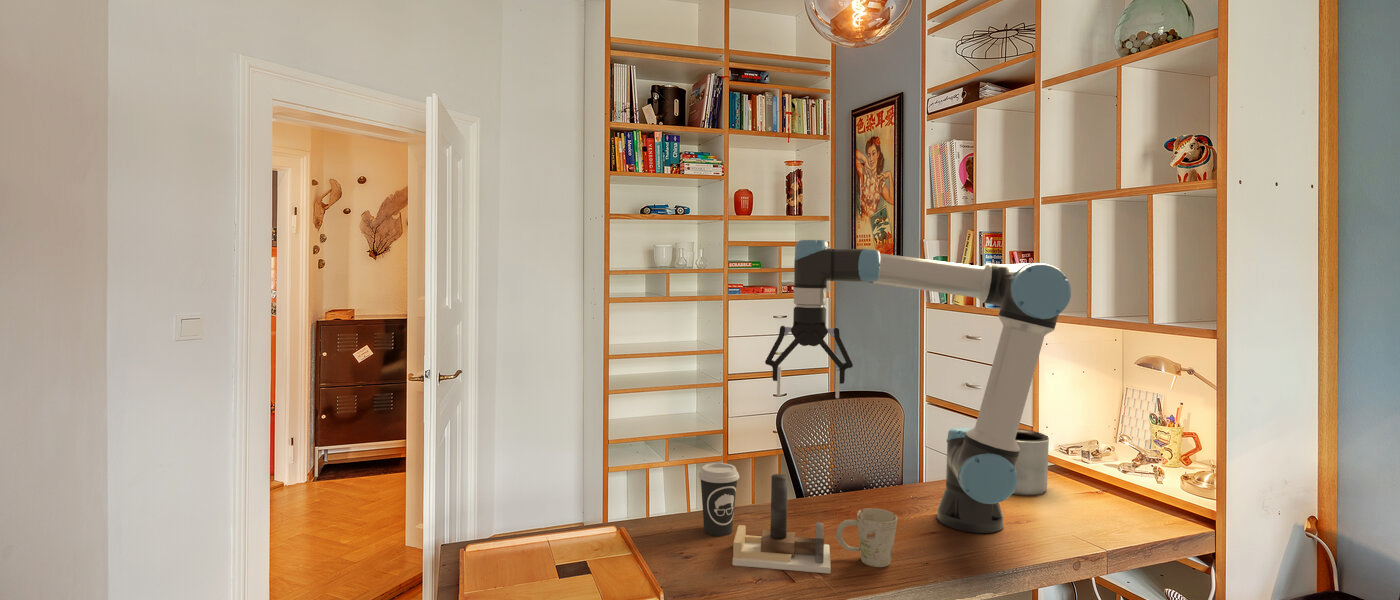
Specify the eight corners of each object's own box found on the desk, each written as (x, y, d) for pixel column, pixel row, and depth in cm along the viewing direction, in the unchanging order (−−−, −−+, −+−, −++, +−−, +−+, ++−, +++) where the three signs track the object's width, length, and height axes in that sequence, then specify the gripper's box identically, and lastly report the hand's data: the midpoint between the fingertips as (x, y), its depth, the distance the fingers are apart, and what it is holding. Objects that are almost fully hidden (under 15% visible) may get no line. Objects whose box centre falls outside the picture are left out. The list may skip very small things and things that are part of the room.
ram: (822, 545, 153) (824, 473, 152) (823, 562, 144) (825, 486, 143) (763, 540, 155) (764, 469, 154) (760, 557, 146) (761, 481, 145)
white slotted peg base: (829, 549, 154) (829, 530, 154) (830, 573, 142) (830, 552, 142) (738, 542, 157) (739, 523, 157) (732, 565, 146) (732, 544, 145)
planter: (1042, 501, 189) (1045, 444, 188) (980, 489, 198) (982, 435, 197) (1050, 485, 202) (1052, 432, 201) (991, 475, 211) (993, 424, 210)
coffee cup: (743, 526, 167) (744, 464, 166) (731, 541, 158) (732, 475, 157) (705, 521, 170) (706, 460, 169) (691, 535, 161) (692, 471, 160)
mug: (897, 571, 144) (898, 523, 143) (835, 565, 146) (836, 518, 146) (894, 555, 152) (895, 510, 151) (835, 549, 154) (836, 505, 154)
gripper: (863, 306, 166) (860, 395, 167) (757, 303, 170) (756, 390, 171) (865, 308, 158) (863, 401, 159) (755, 305, 162) (753, 396, 163)
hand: (807, 396), depth 165 cm, fingers open, 13 cm apart
